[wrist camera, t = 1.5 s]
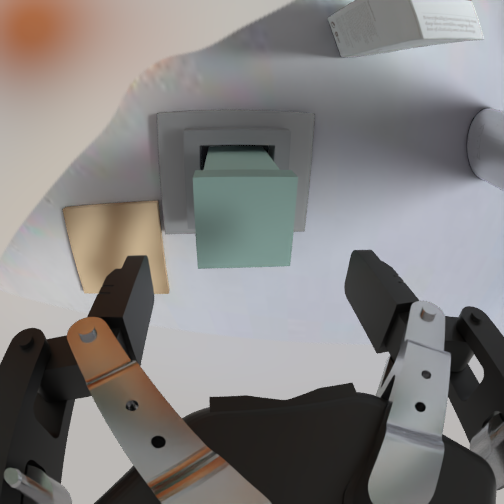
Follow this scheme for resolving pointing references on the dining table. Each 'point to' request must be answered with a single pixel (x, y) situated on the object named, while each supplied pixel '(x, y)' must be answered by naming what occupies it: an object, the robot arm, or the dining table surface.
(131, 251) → the cork pad
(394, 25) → the skincare box
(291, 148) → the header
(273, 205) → the plug
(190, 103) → the dining table surface
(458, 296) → the dining table surface
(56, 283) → the dining table surface
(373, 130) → the dining table surface
